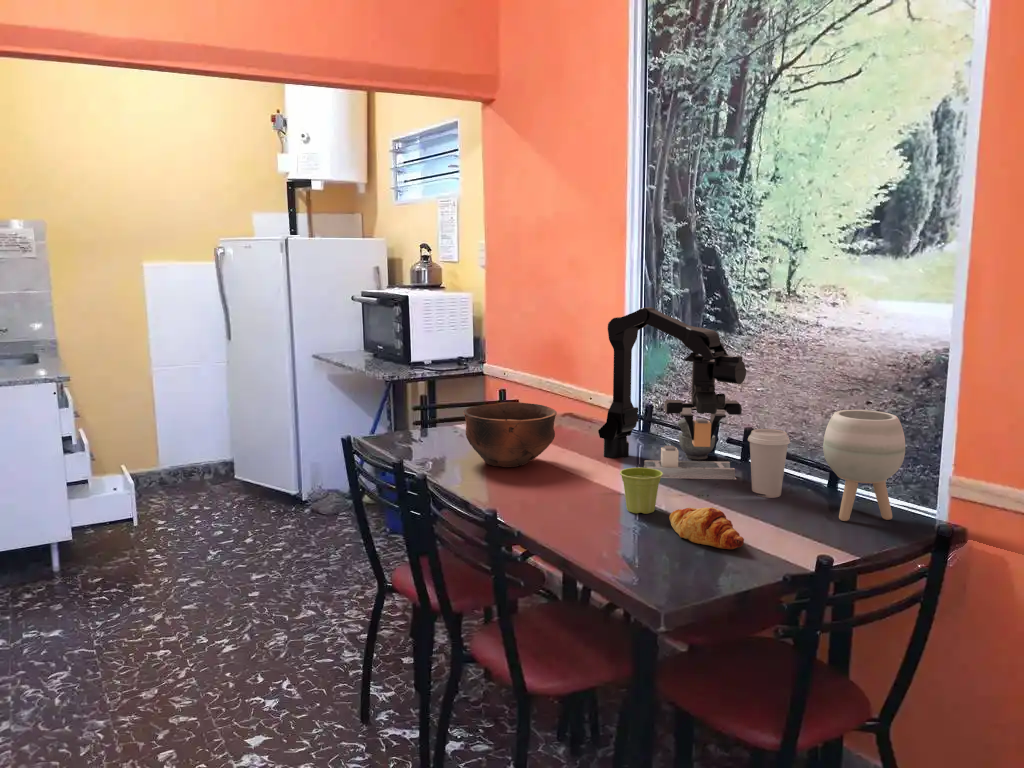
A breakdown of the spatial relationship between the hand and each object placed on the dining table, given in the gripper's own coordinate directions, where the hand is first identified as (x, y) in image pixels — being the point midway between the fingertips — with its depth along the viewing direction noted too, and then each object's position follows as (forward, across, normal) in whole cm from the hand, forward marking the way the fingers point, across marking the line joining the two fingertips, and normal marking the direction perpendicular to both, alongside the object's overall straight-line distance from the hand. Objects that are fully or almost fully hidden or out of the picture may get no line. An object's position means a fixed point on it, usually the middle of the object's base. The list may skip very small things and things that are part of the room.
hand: (701, 440), depth 208 cm
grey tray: (+9, -3, 0) cm, 10 cm away
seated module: (+8, -8, 0) cm, 12 cm away
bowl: (+10, -50, +9) cm, 52 cm away
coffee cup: (+9, +13, -16) cm, 23 cm away
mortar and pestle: (+10, +1, +17) cm, 19 cm away
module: (+1, 0, 0) cm, 1 cm away
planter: (+9, +29, -32) cm, 44 cm away
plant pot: (+10, -18, -31) cm, 37 cm away
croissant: (+10, -6, -48) cm, 50 cm away
